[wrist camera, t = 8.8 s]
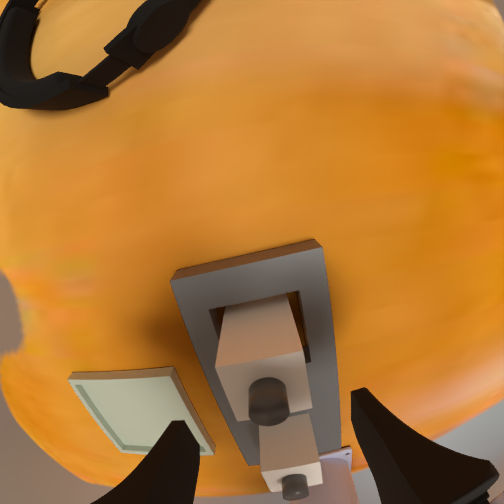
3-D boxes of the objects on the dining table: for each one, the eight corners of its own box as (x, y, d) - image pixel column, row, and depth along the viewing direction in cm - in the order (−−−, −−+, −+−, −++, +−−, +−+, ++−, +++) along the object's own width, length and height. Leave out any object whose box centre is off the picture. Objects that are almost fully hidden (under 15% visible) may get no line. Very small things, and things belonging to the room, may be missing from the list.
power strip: (336, 433, 23) (356, 501, 14) (248, 450, 23) (248, 520, 15) (314, 239, 18) (366, 293, 9) (177, 270, 18) (127, 340, 10)
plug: (294, 339, 20) (317, 430, 11) (240, 350, 20) (236, 443, 11) (285, 289, 18) (309, 372, 10) (226, 302, 19) (211, 390, 10)
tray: (215, 446, 23) (214, 454, 22) (124, 444, 23) (121, 452, 22) (173, 366, 20) (170, 375, 19) (72, 372, 21) (67, 379, 19)
